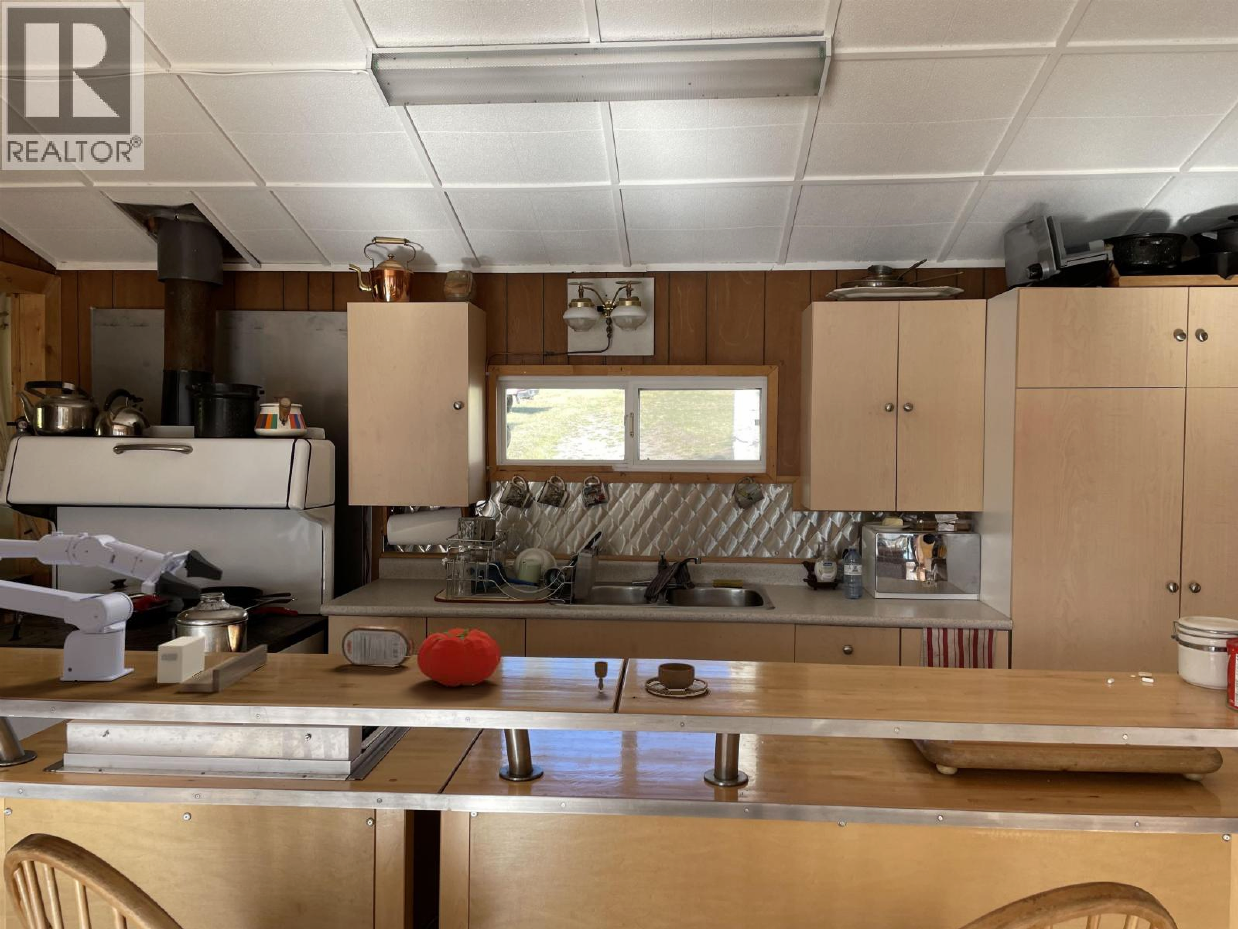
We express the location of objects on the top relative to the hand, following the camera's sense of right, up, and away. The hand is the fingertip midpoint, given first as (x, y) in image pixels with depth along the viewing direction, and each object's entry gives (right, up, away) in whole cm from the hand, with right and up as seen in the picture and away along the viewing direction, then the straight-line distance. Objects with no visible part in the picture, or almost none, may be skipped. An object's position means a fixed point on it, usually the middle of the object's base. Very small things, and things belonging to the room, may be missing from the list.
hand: (210, 584), depth 155 cm
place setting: (+87, -20, -3) cm, 89 cm away
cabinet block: (-5, -18, -1) cm, 19 cm away
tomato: (+49, -19, -2) cm, 52 cm away
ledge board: (+3, -18, 0) cm, 18 cm away
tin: (+29, -19, +11) cm, 36 cm away
